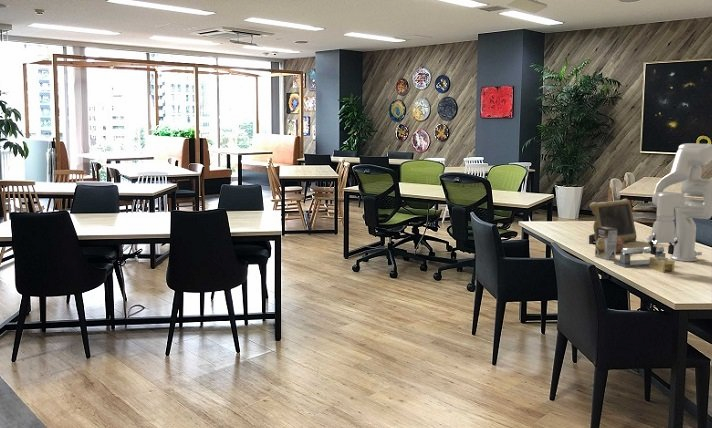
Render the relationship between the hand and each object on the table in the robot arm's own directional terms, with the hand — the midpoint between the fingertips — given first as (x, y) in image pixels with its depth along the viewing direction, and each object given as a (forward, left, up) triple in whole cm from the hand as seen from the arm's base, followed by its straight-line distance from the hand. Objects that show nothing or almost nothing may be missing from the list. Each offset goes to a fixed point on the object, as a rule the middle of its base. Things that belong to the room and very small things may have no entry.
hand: (661, 254), depth 317 cm
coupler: (-1, 0, -8) cm, 8 cm away
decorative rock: (-5, -45, -8) cm, 46 cm away
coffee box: (+9, -31, -8) cm, 34 cm away
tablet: (-21, -70, -8) cm, 73 cm away
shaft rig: (0, -13, -8) cm, 16 cm away
